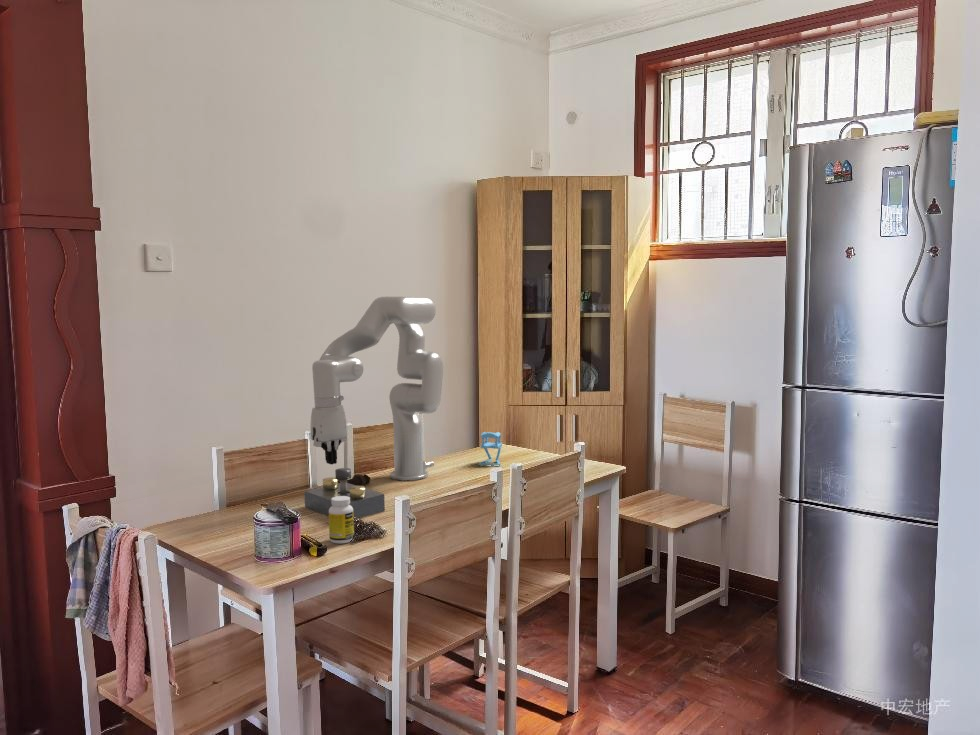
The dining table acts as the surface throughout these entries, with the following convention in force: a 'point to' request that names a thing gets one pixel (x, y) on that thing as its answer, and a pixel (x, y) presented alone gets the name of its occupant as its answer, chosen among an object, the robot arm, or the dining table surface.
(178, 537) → the dining table surface
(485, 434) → the chair
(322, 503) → the mount
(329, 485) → the knob
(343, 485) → the knob middle
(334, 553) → the dining table surface
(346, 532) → the pill bottle
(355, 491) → the knob
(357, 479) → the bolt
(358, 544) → the dining table surface
